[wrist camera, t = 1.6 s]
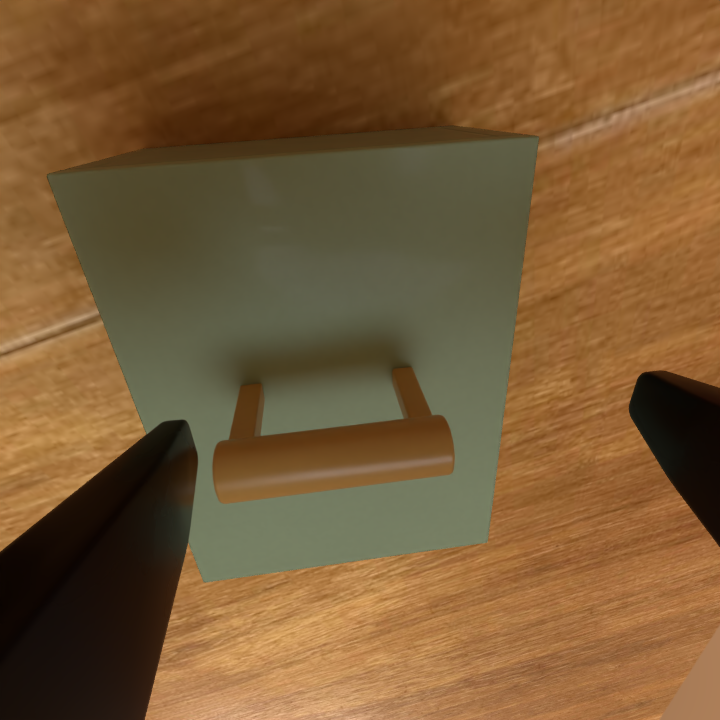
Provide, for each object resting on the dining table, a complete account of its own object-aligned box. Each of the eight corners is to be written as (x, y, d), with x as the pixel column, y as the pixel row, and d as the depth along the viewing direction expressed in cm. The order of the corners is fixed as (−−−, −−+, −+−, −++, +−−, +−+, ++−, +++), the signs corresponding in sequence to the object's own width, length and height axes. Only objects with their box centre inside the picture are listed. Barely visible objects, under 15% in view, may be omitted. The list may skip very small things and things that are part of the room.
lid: (481, 528, 21) (532, 645, 16) (206, 566, 20) (179, 701, 15) (527, 133, 12) (655, 149, 8) (59, 170, 12) (-95, 210, 7)
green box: (442, 424, 26) (482, 515, 20) (225, 450, 25) (202, 554, 19) (454, 125, 18) (526, 133, 12) (141, 148, 17) (60, 169, 12)
